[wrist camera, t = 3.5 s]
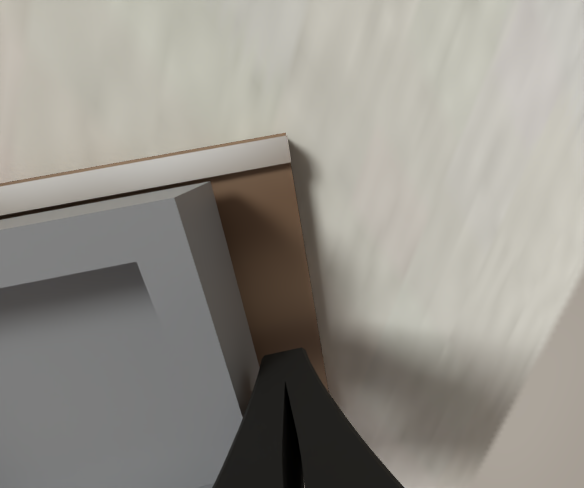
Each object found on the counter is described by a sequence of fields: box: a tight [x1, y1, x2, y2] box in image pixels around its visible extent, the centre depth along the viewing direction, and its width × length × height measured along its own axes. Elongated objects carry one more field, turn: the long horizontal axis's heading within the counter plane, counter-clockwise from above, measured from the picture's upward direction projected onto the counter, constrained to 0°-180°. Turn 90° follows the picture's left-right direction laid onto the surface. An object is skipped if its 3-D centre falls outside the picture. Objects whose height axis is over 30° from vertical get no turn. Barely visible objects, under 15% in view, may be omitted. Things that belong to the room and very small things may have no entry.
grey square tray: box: [0, 181, 259, 488], centre depth 8 cm, size 12×13×4 cm
